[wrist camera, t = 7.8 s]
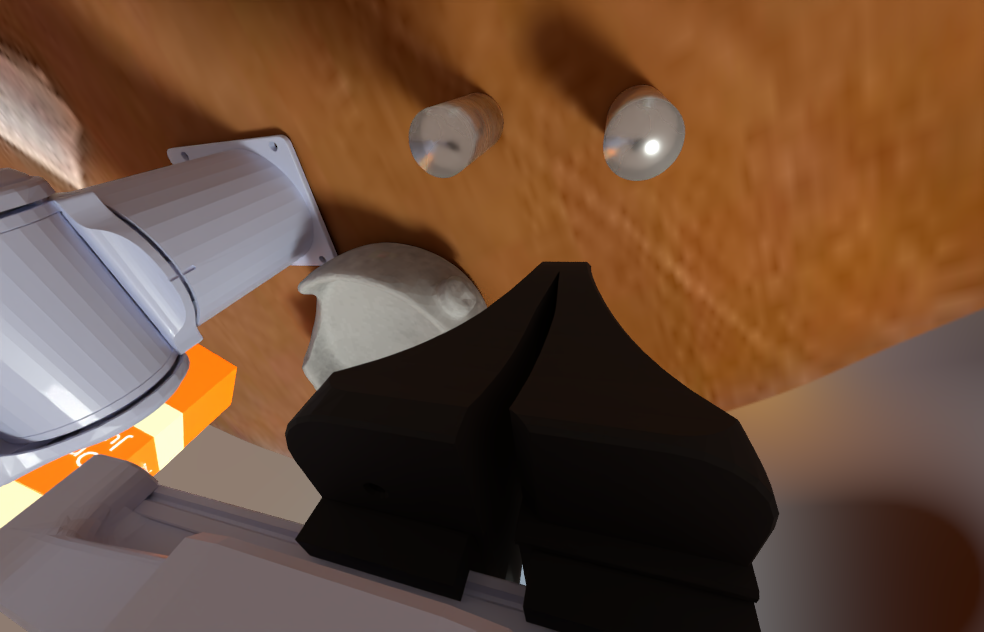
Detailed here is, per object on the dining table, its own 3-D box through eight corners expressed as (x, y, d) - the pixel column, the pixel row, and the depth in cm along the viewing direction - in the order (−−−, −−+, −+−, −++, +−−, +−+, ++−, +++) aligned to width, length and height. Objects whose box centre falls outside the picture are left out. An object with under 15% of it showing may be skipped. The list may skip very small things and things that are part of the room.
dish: (350, 370, 32) (314, 414, 28) (301, 221, 24) (239, 255, 20) (508, 404, 29) (492, 460, 25) (514, 247, 21) (491, 293, 17)
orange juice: (238, 367, 37) (-36, 599, 21) (232, 405, 42) (10, 611, 27) (166, 324, 36) (-179, 536, 20) (169, 368, 41) (-100, 562, 26)
